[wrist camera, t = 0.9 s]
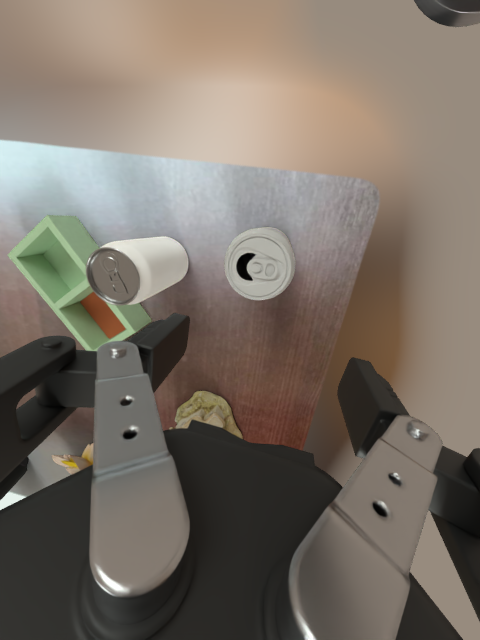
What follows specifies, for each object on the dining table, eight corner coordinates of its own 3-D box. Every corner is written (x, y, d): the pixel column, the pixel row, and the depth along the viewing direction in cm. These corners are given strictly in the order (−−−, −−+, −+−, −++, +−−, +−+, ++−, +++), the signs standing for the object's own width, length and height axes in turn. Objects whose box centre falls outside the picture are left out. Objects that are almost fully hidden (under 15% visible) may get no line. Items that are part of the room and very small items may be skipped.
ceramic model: (165, 406, 44) (134, 453, 35) (213, 382, 41) (192, 428, 31) (210, 459, 47) (192, 516, 38) (259, 441, 44) (252, 499, 34)
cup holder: (76, 216, 34) (46, 214, 30) (152, 320, 38) (135, 332, 34) (38, 251, 37) (6, 255, 33) (112, 344, 41) (92, 358, 37)
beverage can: (245, 224, 31) (222, 224, 20) (296, 229, 30) (302, 232, 19) (240, 274, 33) (218, 299, 22) (288, 280, 32) (289, 309, 21)
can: (181, 231, 33) (128, 234, 22) (195, 278, 35) (153, 304, 24) (139, 242, 34) (70, 250, 23) (155, 287, 36) (98, 314, 25)
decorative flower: (49, 436, 50) (11, 485, 41) (104, 427, 51) (78, 474, 41) (79, 482, 57) (51, 534, 47) (127, 474, 57) (109, 524, 48)
